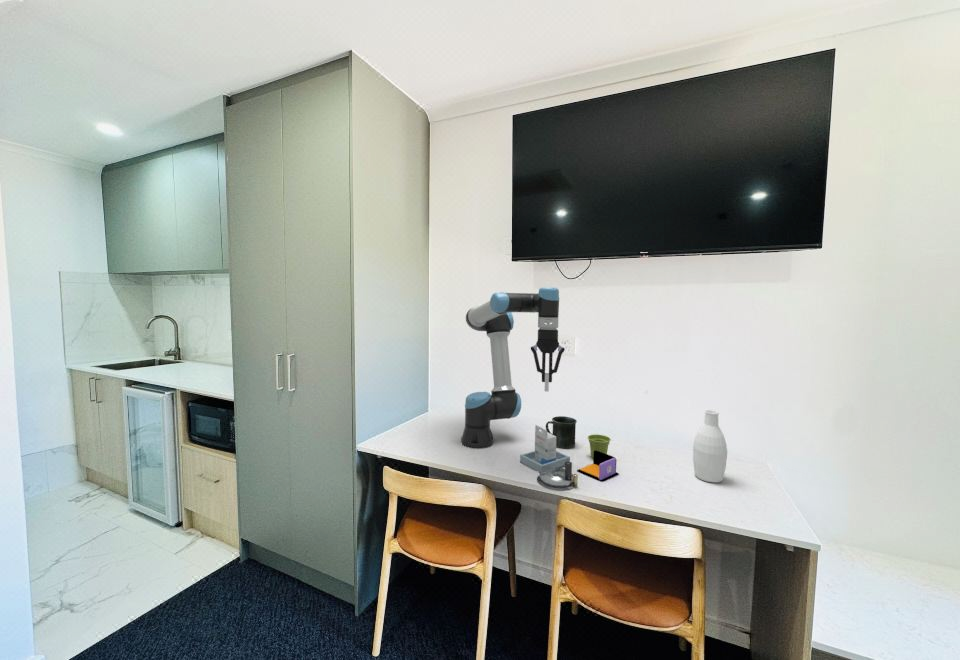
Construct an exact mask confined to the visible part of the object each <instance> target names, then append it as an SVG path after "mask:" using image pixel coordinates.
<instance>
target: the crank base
mask: <svg viewBox="0 0 960 660" xmlns="http://www.w3.org/2000/svg"><path fill="white" fill-rule="evenodd" d="M578 475H579V474H577V473H574V474H573V484H572V485H571V486H568V487H564V488H557V487H551V486H548V485H546V484H544V483H542V482H541V480H540V474H538V476H537V477H536V482H537V483H538V485H539V486H541V487H543V488H545V489H548V490H552V491H557V492H564V491H565V492H566V491H571V490H573V489H575V488H577V487H578Z"/></svg>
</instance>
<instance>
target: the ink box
mask: <svg viewBox="0 0 960 660" xmlns="http://www.w3.org/2000/svg"><path fill="white" fill-rule="evenodd" d="M534 427H535V428H534V430H535V432H534V451H535V460H536V461H538V462H539V463H541V464H546V463H549V462H552V461H555V460H556V451H557V447H556V436H554V435H552V434H553V433H552V434H550V433H551V432H550V433H548V432H547V430H546V428H543V427H541V426H538V425H537V424H535V426H534Z"/></svg>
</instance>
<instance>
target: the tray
mask: <svg viewBox="0 0 960 660" xmlns="http://www.w3.org/2000/svg"><path fill="white" fill-rule="evenodd" d="M570 460H571V457H570V456H569V455H567V454H564V453H561V452H560V451H557V450H556V460H555V461H552V462H549V463H546V464H541V463H539V462H538V461H536V460H535V450H532V451H529V452H526V453H523V454H519V462H520V463H521V464H523V465H524V466H527V467H528V468H530V469H532V470H534V471H535V472H538V473H539V474H540V471H541V470H542V469H544V468H548V467H558V468H563V467H564V468H565V462H566V461H569V462H571V461H570Z"/></svg>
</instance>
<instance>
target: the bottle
mask: <svg viewBox="0 0 960 660" xmlns="http://www.w3.org/2000/svg"><path fill="white" fill-rule="evenodd" d="M719 414H720V413H719V412H718V411H716V410H710V409H709V410H705V411H704V420H703V424H702V425H701V427H700V428H699V429H698V430H697V432H696V435H695V437H694V440H693V445H692V462H693V471H694V475H695V477H697V478H698V479H699V480H701V481H705V482H707V483H714V484H716V483H721V482H722V481H723V479H724V476H725V472H726V467H727V460H728V448H727V442H726V438H725V436H724V433H723V431H722V430H721V427H720V426H719Z"/></svg>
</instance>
